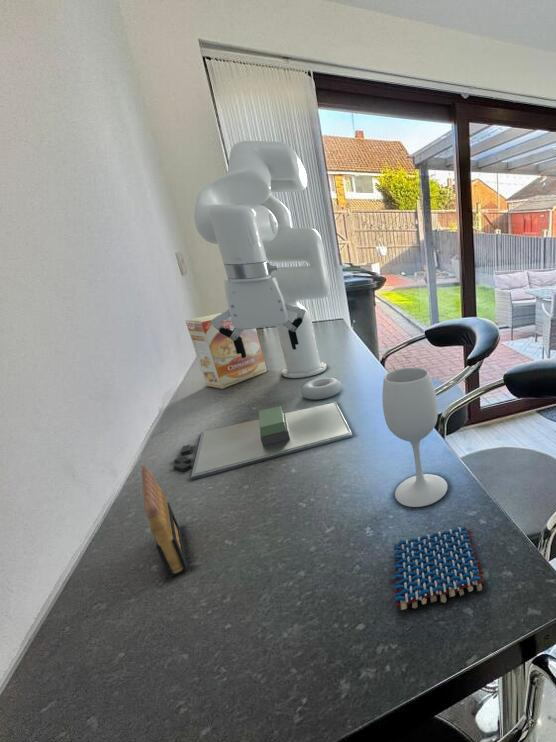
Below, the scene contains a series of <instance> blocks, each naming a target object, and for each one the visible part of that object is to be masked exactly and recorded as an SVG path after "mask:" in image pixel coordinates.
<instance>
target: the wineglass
mask: <svg viewBox="0 0 556 742" xmlns="http://www.w3.org/2000/svg"><path fill="white" fill-rule="evenodd" d="M381 398H382V411H383V417H384V420H385V423H386V426H387V428H388V430H389V431H390V433H392V434H393V435H394V436H395V437H397V438H398V439H400V440H402V441H405V442H409V443H410V445H411V447H412V452H413V457H414V465H415V475H413V476H410V477H409V478H406V479H405V480H403V481H402V482H401V483H400V484H399V485H398V486H397V487H396V489H395V492H394V497H395V500H396V501H397V502H398V503H399V504H400V505H403V506H406V507H409V508H422V507H426V506H429V505H433V504H434V503H437V502H438V501H440V500H441V499H442V498H443V497H444V496H445V495H446V494H447V491H448V483H447V481H446V480H445V478H443V477H441V476H439V475H437V474H431V473H424V471H423V466H422V459H421V449H420V448H421V447H420V444H421V441H422V440H424V439H425V438H427V436H429V435H430V434H431V432H433V430H434V428H435V427H436V425H437V422H438V417H439V408H438V406H439V405H438V399H437V393H436V389H435V386H434V383H433V380H432V377H431V374H430V372H429V371H428V370H427V369H426V368H422V367H416V366H415V367H414V366H413V367H412V366H410V367H401V368H397V369H393V370H391V371H389V372H387V373H386V374H385V375H384V377H383V381H382V397H381Z"/></svg>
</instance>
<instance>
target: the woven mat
mask: <svg viewBox="0 0 556 742" xmlns="http://www.w3.org/2000/svg"><path fill="white" fill-rule="evenodd" d="M472 540H473V539H472V535H471V534H470V529H467V527H466V526H463V527H459V526H458V527H457V528H456V527H455V528H453V529H451V528H450V529H449V530H444V529H442V532H441V531H438V532H433V534H431V535H430V534H427V535H425V534H424V535H422V536H421V537H420V536H417V537H412V538H410V539H405V540H404V539H402V540H400V541H399V542H397V543H394V545H393V551H395V552H394V554H393V559H394V565H393V566H394V569H395V571H394V579H395V583H394V584H395V586H394V589H395V601H396V603H395V607H396V608H399V609H400V611H403V610H407V609H408V607H409V605H410V604H411V608H412V609H415V610H416V609H417V608H418V607H419V605H418V604H419V603H418V601H421V605H426V604H427V602H428V599H427V598H430V603H435V602H437V600H438V599H437V596H439V599H440V603H444V604H445V603H447V595H449V598H451V597H452V598H453V597H455V596H456V594H457V593H458V594H459V596H460V597H462V596H463V595H465V592H464V589H467V592H469V593H470V592H473V590H474V586H475V588H476V591H477V592H481V591H482V590H483V586H482V584H484V583H485V580H484V578H483V570H482V569H479V568H480V564H479V563H480V561H479V560H478V559H477V554H476V550H475V545H474V544H473V543H472V542H473V541H472ZM397 569H398V570H397ZM399 601H400V602H399Z"/></svg>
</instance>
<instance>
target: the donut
mask: <svg viewBox="0 0 556 742" xmlns="http://www.w3.org/2000/svg"><path fill="white" fill-rule="evenodd" d="M300 390H301V391H300V393H301V395H302V397H304V398H305V399H307V400H313V401H315V400H324V399H329V398H331V397H334V396H336V395H338V394H339V393H340V392H341V390H342V383H341V381H340V380H338V379H337V378H334V377H320V378H316V379H315V378H314V379H312V380H309V381H308V382H305V383H304V384H303V385H302V386H301V389H300Z"/></svg>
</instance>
